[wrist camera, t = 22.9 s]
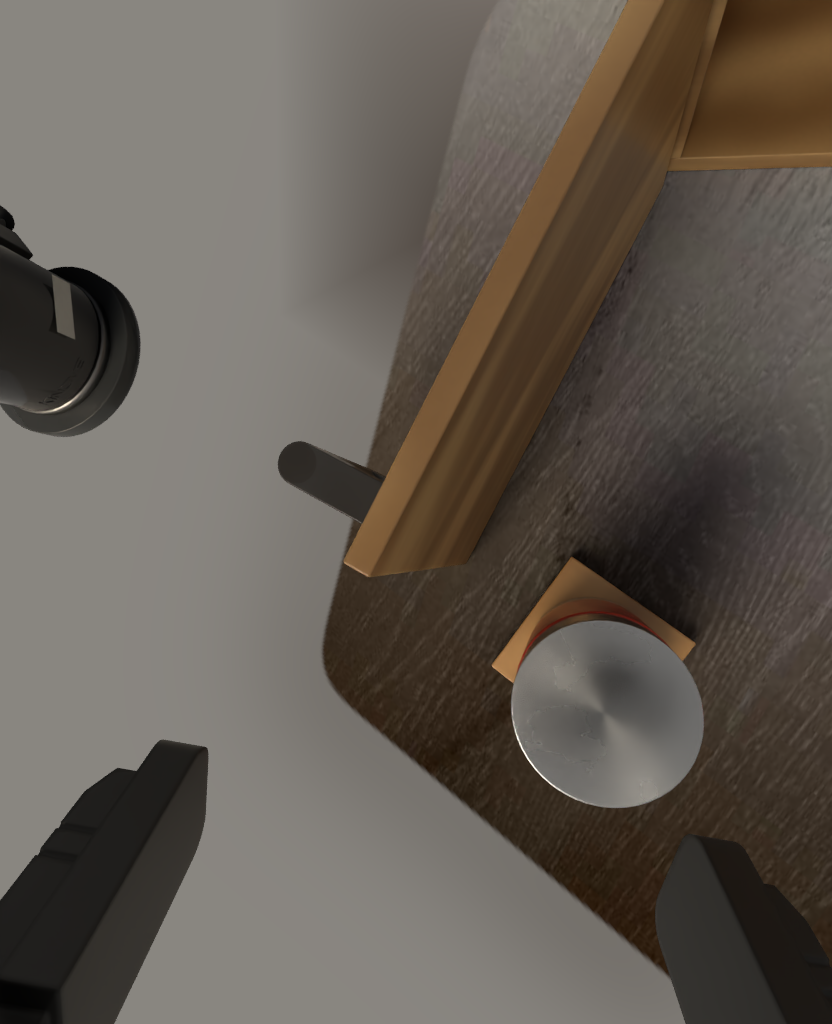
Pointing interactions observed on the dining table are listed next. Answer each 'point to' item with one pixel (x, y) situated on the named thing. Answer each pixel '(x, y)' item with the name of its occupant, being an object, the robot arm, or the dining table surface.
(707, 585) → the dining table surface
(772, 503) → the dining table surface
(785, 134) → the cupboard
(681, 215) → the dining table surface
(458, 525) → the cupboard door
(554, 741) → the can
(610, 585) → the coaster
